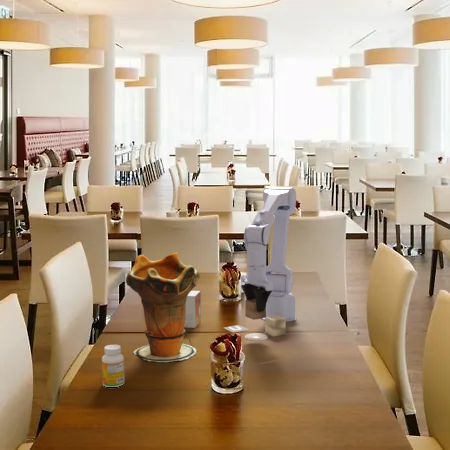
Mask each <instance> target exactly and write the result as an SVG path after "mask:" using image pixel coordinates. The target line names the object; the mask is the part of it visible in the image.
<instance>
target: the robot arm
mask: <svg viewBox="0 0 450 450" xmlns="http://www.w3.org/2000/svg"><path fill="white" fill-rule="evenodd" d="M262 201H263V203H264V204H263V207H262V209H261V210H259V211H258V212H257V213H255V214H256V215H255V217H254V219H253V220H252V222H251V224H249V225H248V226H246V227H245V228H244V231H243V233H244V234H243V239H244V244H245V250H246V274H244V275H243V274H241V275H240V282H242V283H244V284H241V285H240V287H241V289H242V291H243V293H244V295H245V298H246V300H250V299H256V303H257V311H258V312H263V311H265V307H266V317H269V316H275V315H278V316H281V317H283V318H286V323H287V322H294V321H297V318H296V298H295V295H294V294H293V293H292V290H293V288H294V272H293V270H292V268H290V267H289V266H288V265H287V264H286V258H287V257H286V256H287V248H288V247H287V245H288V235H289V224H290V223H289V221H290V218H291V217H290V216H291V215H292V214H294V213H296V212H295V211H296V205H297V191H296V189H295V187H294V186H291V187H289V186H287V187H286V186H268V185H267V186H265V188H264V190H263V193H262ZM272 226H273V230H272V231H273V234H272V244H271V245H272V247H271V258H270V263H269V264H268V265H267V245H268V244H269V240H270V235H271V228H272ZM261 320H263V321H265V318H261Z"/></svg>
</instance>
